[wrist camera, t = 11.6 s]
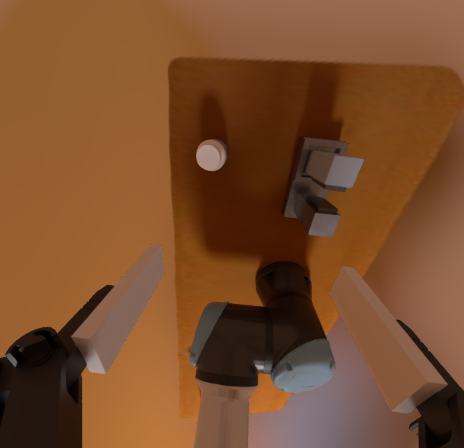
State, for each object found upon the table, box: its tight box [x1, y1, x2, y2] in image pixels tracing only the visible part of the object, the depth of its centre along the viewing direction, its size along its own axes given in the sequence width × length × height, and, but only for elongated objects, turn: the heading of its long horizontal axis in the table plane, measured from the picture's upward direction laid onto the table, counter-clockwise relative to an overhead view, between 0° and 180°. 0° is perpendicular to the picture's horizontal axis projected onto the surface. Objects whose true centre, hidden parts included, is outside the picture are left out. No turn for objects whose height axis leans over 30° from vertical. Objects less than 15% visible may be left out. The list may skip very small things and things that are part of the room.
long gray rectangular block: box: [304, 150, 364, 192], centre depth 29 cm, size 5×4×10 cm
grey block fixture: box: [282, 137, 349, 237], centre depth 32 cm, size 16×8×12 cm, turn 175°
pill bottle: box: [196, 139, 228, 171], centre depth 33 cm, size 5×5×9 cm
